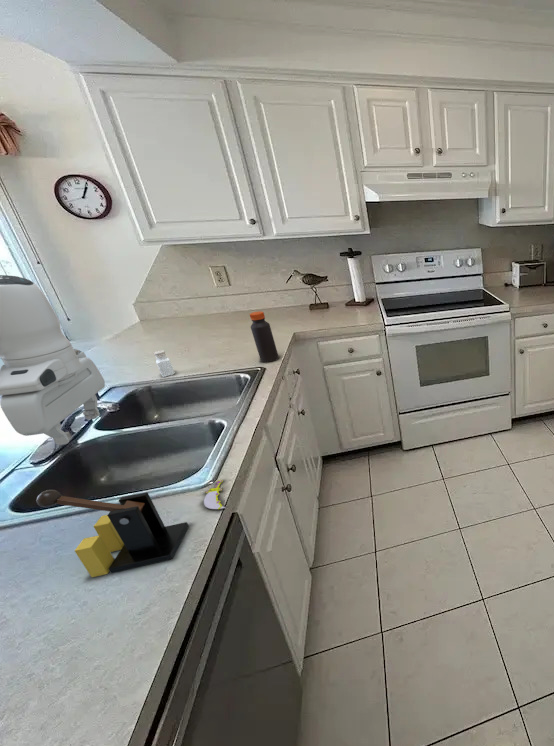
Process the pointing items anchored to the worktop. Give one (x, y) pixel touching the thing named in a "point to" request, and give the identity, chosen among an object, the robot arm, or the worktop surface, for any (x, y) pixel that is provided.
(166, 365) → the pepper shaker
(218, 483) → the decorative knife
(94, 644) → the worktop surface
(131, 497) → the bracket
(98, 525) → the butter
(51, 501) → the arm
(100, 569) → the butter
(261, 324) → the bottle
